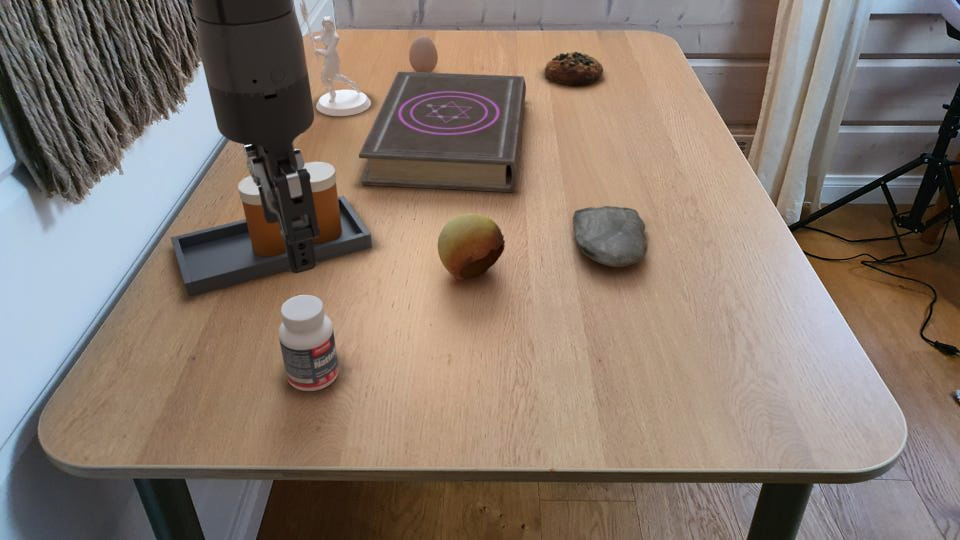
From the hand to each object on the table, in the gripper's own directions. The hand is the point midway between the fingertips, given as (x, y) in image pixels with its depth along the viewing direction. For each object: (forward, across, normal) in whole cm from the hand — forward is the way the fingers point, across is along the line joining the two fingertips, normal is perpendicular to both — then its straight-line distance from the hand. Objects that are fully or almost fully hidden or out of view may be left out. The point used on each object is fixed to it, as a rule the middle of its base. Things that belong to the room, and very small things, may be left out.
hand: (290, 243), depth 66 cm
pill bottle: (+16, 0, 0) cm, 17 cm away
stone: (+17, -6, +41) cm, 45 cm away
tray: (+16, -24, +2) cm, 29 cm away
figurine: (+17, -62, +24) cm, 69 cm away
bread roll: (+17, -55, +67) cm, 88 cm away
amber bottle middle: (+16, -24, +2) cm, 29 cm away
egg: (+17, -68, +42) cm, 82 cm away
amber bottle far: (+16, -24, +8) cm, 30 cm away
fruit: (+17, -8, +22) cm, 29 cm away
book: (+17, -41, +35) cm, 56 cm away
